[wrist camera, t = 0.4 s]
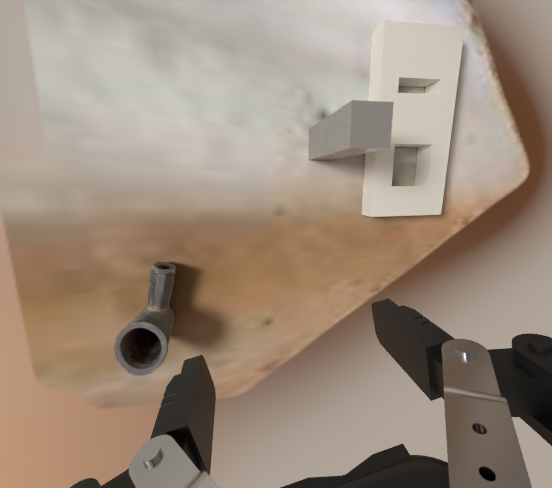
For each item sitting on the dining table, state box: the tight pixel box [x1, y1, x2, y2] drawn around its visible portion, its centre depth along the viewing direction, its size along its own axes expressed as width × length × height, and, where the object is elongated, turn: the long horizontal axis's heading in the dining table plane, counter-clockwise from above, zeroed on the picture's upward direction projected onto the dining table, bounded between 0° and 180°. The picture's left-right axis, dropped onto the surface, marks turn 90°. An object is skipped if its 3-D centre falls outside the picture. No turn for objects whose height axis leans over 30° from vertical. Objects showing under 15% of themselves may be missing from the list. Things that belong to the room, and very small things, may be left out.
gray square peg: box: [309, 100, 394, 160], centre depth 32 cm, size 4×4×14 cm
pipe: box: [114, 262, 176, 376], centre depth 36 cm, size 6×13×8 cm, turn 167°
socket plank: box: [362, 21, 465, 217], centre depth 38 cm, size 24×11×3 cm, turn 1°
